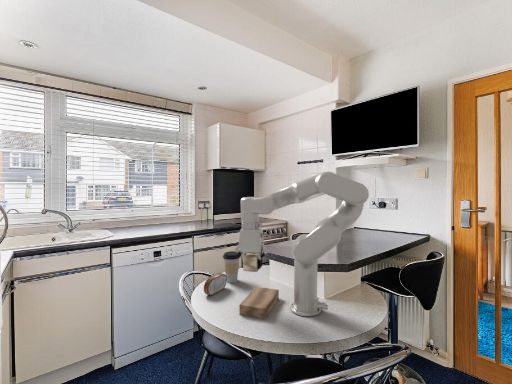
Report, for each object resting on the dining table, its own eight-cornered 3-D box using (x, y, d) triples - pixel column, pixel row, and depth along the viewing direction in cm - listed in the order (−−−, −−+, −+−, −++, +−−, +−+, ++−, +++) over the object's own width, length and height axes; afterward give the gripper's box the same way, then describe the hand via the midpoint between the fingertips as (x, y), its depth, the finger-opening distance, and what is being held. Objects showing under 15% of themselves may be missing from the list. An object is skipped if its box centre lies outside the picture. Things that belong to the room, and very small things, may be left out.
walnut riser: (278, 298, 130) (278, 289, 130) (265, 318, 111) (265, 308, 111) (256, 295, 134) (256, 286, 134) (239, 314, 115) (239, 304, 115)
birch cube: (261, 267, 124) (260, 254, 124) (256, 272, 118) (255, 257, 118) (248, 266, 126) (247, 253, 126) (243, 271, 120) (242, 257, 120)
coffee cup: (233, 276, 159) (233, 250, 158) (244, 281, 152) (243, 253, 151) (219, 280, 153) (219, 253, 152) (229, 285, 146) (229, 256, 145)
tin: (223, 286, 145) (222, 270, 144) (228, 287, 143) (227, 271, 143) (203, 297, 132) (203, 279, 132) (208, 298, 130) (208, 280, 130)
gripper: (272, 224, 122) (274, 266, 123) (235, 224, 128) (237, 263, 129) (267, 227, 115) (268, 271, 116) (228, 227, 121) (230, 269, 121)
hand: (252, 267), depth 122 cm, fingers closed on birch cube, 6 cm apart
